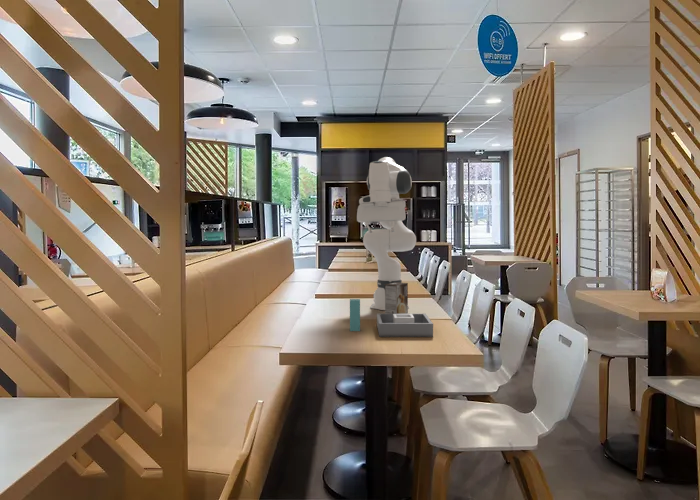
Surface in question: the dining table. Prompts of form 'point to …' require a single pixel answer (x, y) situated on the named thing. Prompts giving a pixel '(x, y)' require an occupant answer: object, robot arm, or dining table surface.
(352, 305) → the connector peg
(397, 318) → the inlet box
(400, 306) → the coffee box
